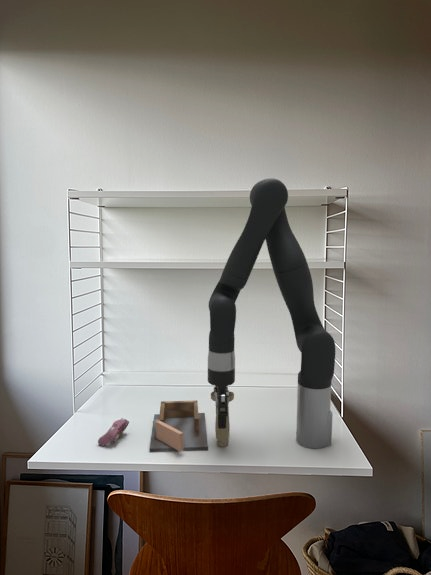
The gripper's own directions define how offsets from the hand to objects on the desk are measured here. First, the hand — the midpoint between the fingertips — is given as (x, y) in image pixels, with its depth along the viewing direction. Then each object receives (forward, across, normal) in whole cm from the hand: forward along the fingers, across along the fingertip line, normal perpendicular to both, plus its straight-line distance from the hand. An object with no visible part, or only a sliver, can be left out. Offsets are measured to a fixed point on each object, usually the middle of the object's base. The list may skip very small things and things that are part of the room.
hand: (220, 421), depth 134 cm
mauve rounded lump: (+8, +5, +30) cm, 32 cm away
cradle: (+7, +8, +12) cm, 16 cm away
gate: (+6, -1, +15) cm, 16 cm away
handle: (+7, 0, 0) cm, 7 cm away
